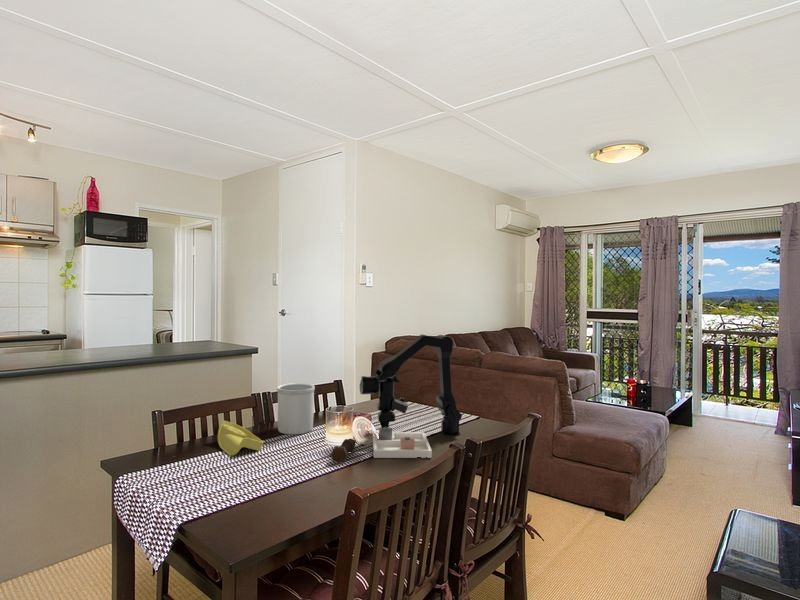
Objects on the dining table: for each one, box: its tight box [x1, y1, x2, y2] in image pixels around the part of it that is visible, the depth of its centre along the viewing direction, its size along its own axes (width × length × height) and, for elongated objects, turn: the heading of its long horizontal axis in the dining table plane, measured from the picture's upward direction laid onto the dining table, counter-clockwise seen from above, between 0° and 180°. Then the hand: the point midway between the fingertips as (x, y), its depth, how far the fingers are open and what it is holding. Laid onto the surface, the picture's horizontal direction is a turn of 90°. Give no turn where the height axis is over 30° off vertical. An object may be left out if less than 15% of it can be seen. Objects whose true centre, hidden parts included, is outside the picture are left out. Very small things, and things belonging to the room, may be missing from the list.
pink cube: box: [400, 437, 415, 450], centre depth 166 cm, size 5×5×5 cm
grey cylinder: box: [378, 426, 393, 440], centre depth 177 cm, size 5×5×5 cm
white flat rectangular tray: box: [372, 429, 433, 459], centre depth 174 cm, size 20×29×2 cm
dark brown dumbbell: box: [330, 438, 356, 463], centre depth 161 cm, size 6×5×15 cm
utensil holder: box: [276, 382, 316, 435], centre depth 187 cm, size 15×15×18 cm
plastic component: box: [217, 420, 265, 457], centre depth 167 cm, size 20×7×10 cm
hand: (385, 433), depth 181 cm, fingers closed
